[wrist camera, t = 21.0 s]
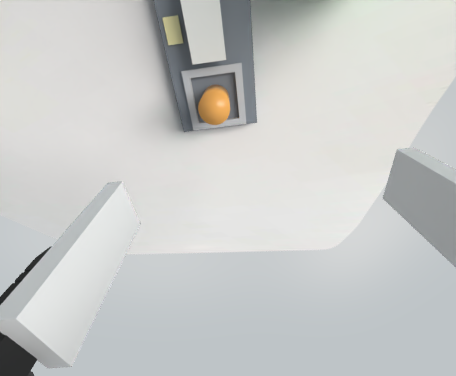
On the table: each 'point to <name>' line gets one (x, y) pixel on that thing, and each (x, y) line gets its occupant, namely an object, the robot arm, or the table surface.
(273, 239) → the table surface
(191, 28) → the breaker
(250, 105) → the panel
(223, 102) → the pin
